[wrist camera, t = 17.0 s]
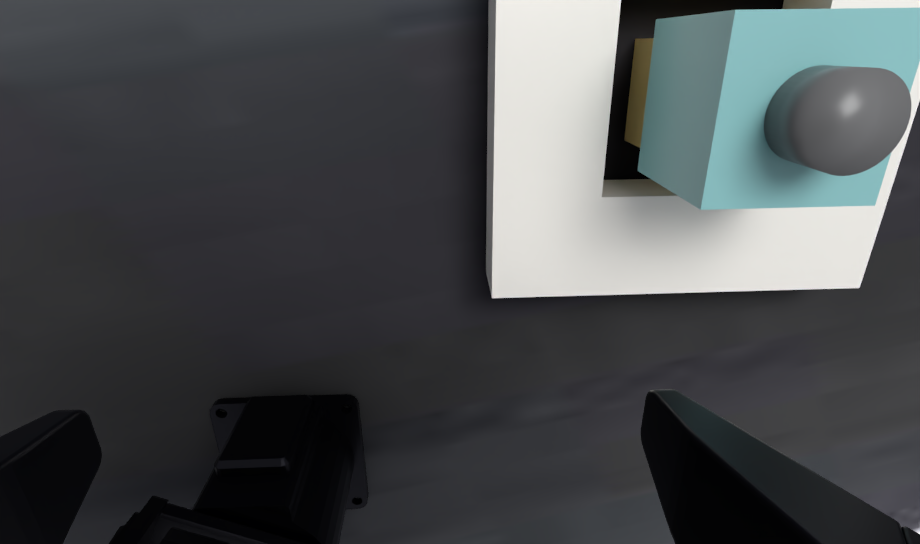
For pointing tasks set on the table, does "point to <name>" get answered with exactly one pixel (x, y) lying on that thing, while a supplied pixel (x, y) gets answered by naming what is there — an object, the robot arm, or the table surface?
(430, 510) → the table surface
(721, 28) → the plug
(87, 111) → the table surface
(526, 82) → the socket plate
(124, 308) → the table surface
